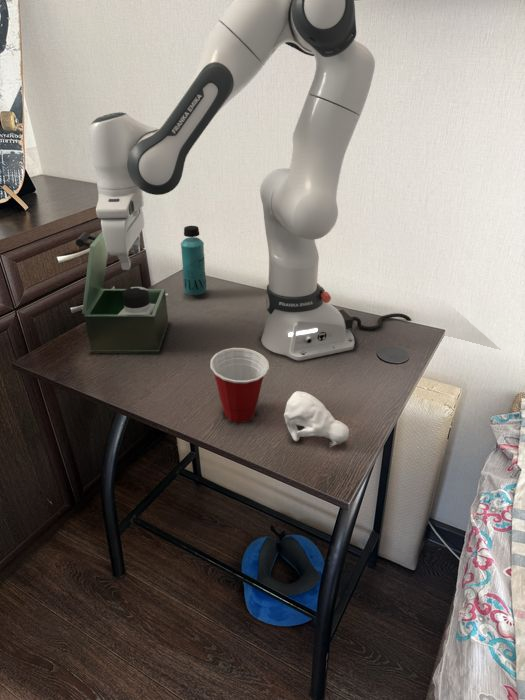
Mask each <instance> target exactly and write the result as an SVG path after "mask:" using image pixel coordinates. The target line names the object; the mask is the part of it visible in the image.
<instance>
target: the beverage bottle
mask: <svg viewBox="0 0 525 700" xmlns="http://www.w3.org/2000/svg"><path fill="white" fill-rule="evenodd" d="M183 236H184V237H186V238H184V239H183V240H181V243H180V247H181V248H180V249H181V260H182V262H181V263H182V281H183V291H184V293H185V294H187V295H190V296H198V295H202V294H204V293H205V292H206V290H207V277H206V276H207V275H206V274H207V273H206V260H205V259H206V258H205V257H206V253H205V249H204V245H205V242H204V241H203V240H202V239H201V238H199V236H200V229H199V226H197V225H187V226H185V227H184V228H183Z"/></svg>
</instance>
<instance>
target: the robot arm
mask: <svg viewBox="0 0 525 700" xmlns="http://www.w3.org/2000/svg"><path fill="white" fill-rule="evenodd" d="M356 37H357V20H356V5H355V0H233V1H232V2H231V3H230V4H229V6H228V7H227V8H226V9H225V10H224V11H223V13H222V14H221V16H220V17H219V18H218V20H217V21H216V23H215V24H214V25H213V27H212V28H211V30H210V31H209V34H208V36H206V39H205V41H204V43H203V45H202V47H201V49H200V52H199V55H198V56H197V61H196V64H195V68H194V71H193V75H192V77H191V81H190V82H189V85H188V88H187V89H186V91H185V93H184V94H183V96H182V97H181V99H180V100H179V101H178V103H177V104H176V106H175V107H174V109H173V110H172V111H171V113H170V114H169V116H168V117H167V118H166V120H165V121H164V123H163V124H162V125H161V127H160V128H157V127H153V126H150V125H147V124H144V123H143V122H141V121H139V120H137V119H134V118H133V117H132V116H130V115H129V114H127V112H124V111H123V112H122V111H121V112H120V111H119V112H113V113H108V114H105V115H102V116H99V117H97V118H95V119H94V120H93V121H92V122H91V124H90V125H89V131H88V132H89V133H88V134H89V145H90V153H91V160H92V164H93V167H94V169H95V172H96V176H97V177H96V187H97V193H98V194H97V196H98V198H97V199H98V200H97V204H96V206H95V214H96V217H97V218H98V219H101V220H100V227H101V232H103V236H104V240H105V244H106V248H107V251H108V254H109V255H110V256H111V257H117V259H118V260H119V263H120V266H121V267H120V268H121V270H123V271H130V269H131V267H132V261H131V259H130V257H129V254H130V253H131V254H132V255H139V254H140V252H141V246H140V242H141V235H140V234H141V232H142V231H143V229H144V228H145V217H144V212H143V207H144V205H145V203H144V195H143V192H144V193H147V194H149V195H154V196H162V195H166V194H168V193H170V192H172V191H174V189H176V188H177V186H178V185H179V184H180V182H181V179H182V177H183V172H184V168H185V162H186V159H187V157H188V155H189V153H190V151H191V150H192V148H193V147H194V145H195V144H196V143H197V141H198V140H199V138H200V137H201V135H202V134H203V133H204V131H205V130H206V129H207V127H208V126H209V124H210V123H211V122H212V120H213V119H214V118H215V116H216V115H217V114H218V113H219V112H220V111H221V110H222V109H223V108H224V107H225V106H226V105H227V104H228V103H229V102H230V101H231V100H232V99H234V98H235V97H236V96H238V94H239V93H241V92H242V90H244V89H245V88H246V87H247V86H248V85H249V84H250V83H251V82H252V80H253V79H255V77H257V75H258V74H259V73H260V71H261V70H262V69H263V67H264V66H265V65H266V63H267V62H268V61H269V59H270V58H271V57H272V56H273V54H274V53H275V52H276V51H277V50H278V49H279V47H281V46H282V45H284V44H285V45H287V46H289V47H291V48H293V49H295V50H296V51H299V52H300V53H302V54H304V55H308V56H311V57H314V59H315V70H314V71H315V72H314V75H313V79H312V82H311V85H310V87H309V90H308V91H307V92H308V93H307V95H306V98H305V101H304V103H303V106H302V108H301V111H300V114H299V116H298V119H297V122H296V125H295V128H294V130H293V133H292V153H291V159H290V166H289V168H286V167H285V168H277V169H274V170H272V171H270V172H269V173H268V174H266V175H265V176H264V178H263V180H262V181H261V183H260V186H259V195H260V200H261V204H262V210H263V218H264V219H263V220H264V229H265V237H266V242H267V251H268V284H267V285H266V293H265V308H266V310H267V311H266V318H265V323H264V328H263V332H262V335H261V338H260V342H261V344H262V345H263V346H264V348H265V349H266V350H268V351H271V352H273V353H275V354H278V355H281V356H282V355H283V356H286V357H288V358H290V359H292V360H294V361H297V362H298V361H301V362H302V361H305V360H310V359H315V358H319V357H325V356H328V355H333V354H337V353H343V352H347V351H352V350H353V349H354V348H355V337H354V335H353V332H352V331H351V329H353V327H354V322H356V325H357V328H359V329H360V330H364V331H375V330H379V329H380V328H382V327H383V321H385V320H387V319H391V318H403V319H405V320H406V321H407V322H411V321H412V319H411V317H410V316H408V315H407V314H405V313H401V312H400V313H399V312H397V313H396V312H395V313H394V312H393V313H389V314H385V315H382V316H380V317H378V321H377V322H378V323H377V324H376V325H371V326H369V325H368V326H367V325H363V324H362V320H361V318H360V317H358V316H351V315H350V314H349V313H347V312H346V311H345V310H344V309H339V310H338V308H336V307H335V306H334V305H332V304H331V303H330V301H331V300H332V296H331V295H330V293H329V292H328V291H325V288H324V287H322V286H321V285H320V283H318V276H319V262H320V261H319V260H320V259H319V258H320V256H319V255H320V254H319V250H318V248H317V244H316V240H318V239H321V238H324V237H326V236H327V235H328V234H329V233H330V232H331V231H332V230H333V228H334V227H335V225H336V223H337V221H338V216H339V209H338V202H337V197H338V196H337V195H338V189H339V183H340V178H341V177H340V176H341V171H342V166H343V163H344V159H345V156H346V153H347V151H348V147H349V145H350V142H351V140H352V137H353V135H354V133H355V130H356V127H357V125H358V122H359V120H360V118H361V116H362V114H363V113H362V112H363V111H364V108H365V105H366V102H367V99H368V97H369V93H370V90H371V85H372V82H373V78H374V73H375V67H376V61H375V60H376V59H375V58H374V55H373V53H372V52H371V51H370V50H369V48H368V47H366V45H364V44H363V43H360V42H358V41H357V40H356ZM129 252H130V253H129Z"/></svg>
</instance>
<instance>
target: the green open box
mask: <svg viewBox="0 0 525 700" xmlns="http://www.w3.org/2000/svg"><path fill="white" fill-rule="evenodd" d="M126 289H127V288H103V289H102V290H101V292H100V293H99V295H98V296H97V298H96V299H95V301H94V302H93V304H92V305H91V307H90V309H89V310H88V312H87V313H86V314H84V321H85V327H86V331H87V336H88V341H89V345H90V350H91V354H160V351H161V348H162V346H163V342H164V339H165V335H166V333H167V329H168V327H169V316H168V305H167V296H166V289H165V288H146V289H147V290H148V291H149V298H150V304H156V305H155V307H154V310H153V312H152V315H118V314H119V313H120V312H121V311H122V310H123V309H124V302H123V296H122V293H123V292H124V291H125V290H126Z"/></svg>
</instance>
